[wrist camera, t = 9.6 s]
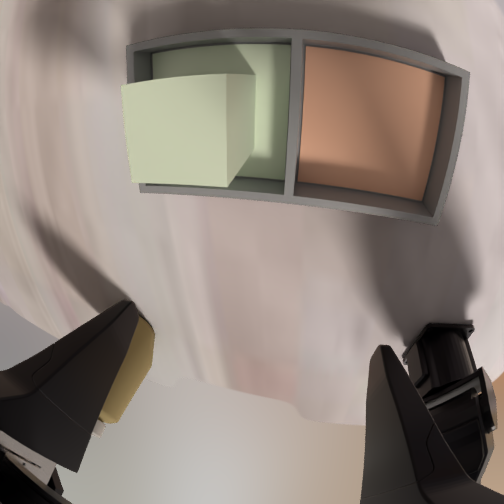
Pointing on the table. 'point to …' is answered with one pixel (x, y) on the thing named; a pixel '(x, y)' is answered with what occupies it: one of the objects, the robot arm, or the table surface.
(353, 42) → the board
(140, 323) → the squeeze bottle
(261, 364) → the table surface
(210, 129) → the sage block
